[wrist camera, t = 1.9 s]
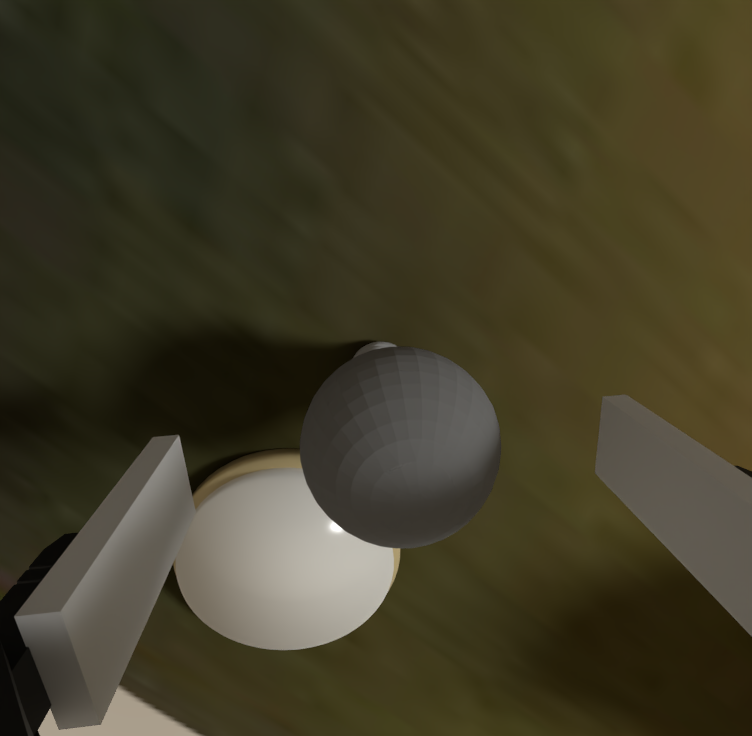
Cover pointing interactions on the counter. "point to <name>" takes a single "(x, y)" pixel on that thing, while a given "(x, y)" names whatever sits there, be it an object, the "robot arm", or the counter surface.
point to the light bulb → (400, 446)
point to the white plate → (276, 559)
